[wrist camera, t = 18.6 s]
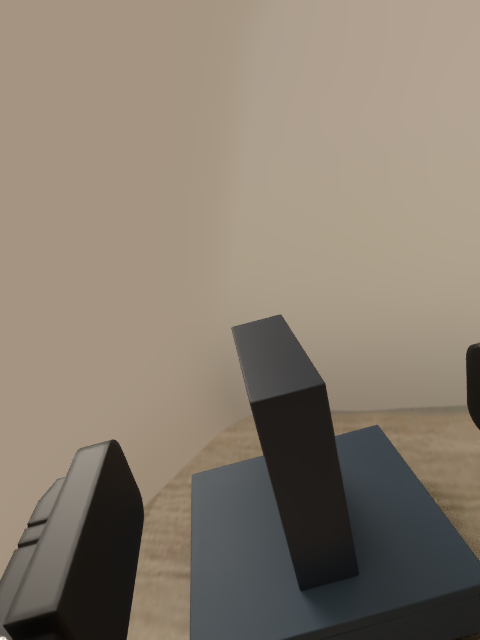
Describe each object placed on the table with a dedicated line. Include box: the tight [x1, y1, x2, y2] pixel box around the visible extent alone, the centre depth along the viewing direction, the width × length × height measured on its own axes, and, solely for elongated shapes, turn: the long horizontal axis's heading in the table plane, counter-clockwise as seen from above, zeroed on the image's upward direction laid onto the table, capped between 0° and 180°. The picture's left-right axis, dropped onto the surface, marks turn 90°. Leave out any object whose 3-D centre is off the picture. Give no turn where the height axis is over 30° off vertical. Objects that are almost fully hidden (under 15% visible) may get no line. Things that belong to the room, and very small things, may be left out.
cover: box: [190, 315, 480, 640], centre depth 15 cm, size 10×9×10 cm
